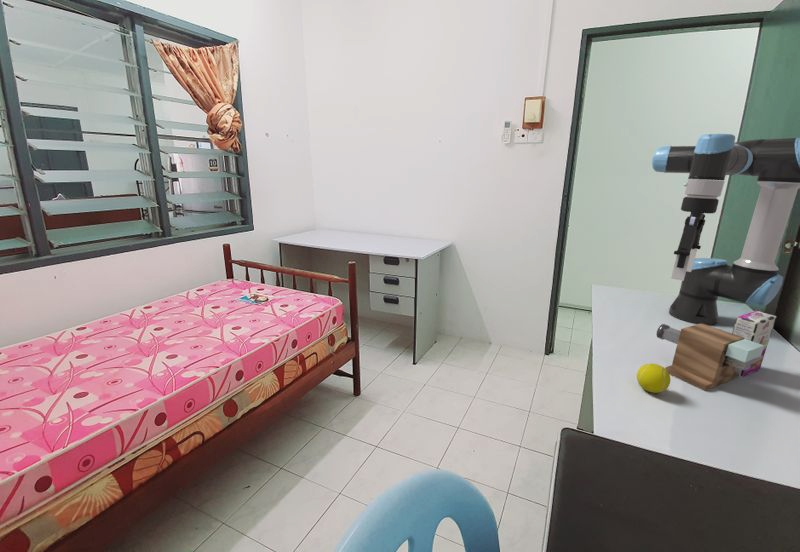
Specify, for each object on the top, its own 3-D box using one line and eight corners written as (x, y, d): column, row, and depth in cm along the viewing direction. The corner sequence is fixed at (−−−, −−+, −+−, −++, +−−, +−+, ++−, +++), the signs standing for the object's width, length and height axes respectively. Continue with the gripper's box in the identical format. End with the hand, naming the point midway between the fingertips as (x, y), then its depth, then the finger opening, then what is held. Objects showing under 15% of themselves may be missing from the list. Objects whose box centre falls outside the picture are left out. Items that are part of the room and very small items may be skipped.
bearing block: (696, 361, 114) (707, 321, 110) (736, 377, 105) (750, 335, 102) (664, 372, 106) (674, 330, 103) (704, 390, 98) (718, 346, 94)
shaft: (663, 336, 116) (667, 322, 114) (750, 369, 97) (755, 354, 96) (655, 338, 114) (658, 325, 112) (741, 373, 95) (746, 357, 94)
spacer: (741, 349, 100) (744, 338, 99) (760, 356, 97) (764, 345, 96) (725, 355, 97) (728, 344, 96) (744, 362, 93) (748, 351, 92)
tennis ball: (631, 390, 97) (637, 365, 95) (637, 379, 102) (642, 355, 100) (664, 401, 93) (671, 376, 91) (668, 389, 98) (674, 365, 96)
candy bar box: (739, 361, 114) (755, 310, 110) (760, 369, 110) (778, 316, 105) (720, 369, 109) (736, 315, 105) (741, 378, 105) (759, 322, 100)
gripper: (690, 194, 112) (673, 265, 118) (676, 197, 94) (656, 280, 100) (723, 196, 107) (703, 270, 113) (714, 199, 89) (691, 286, 95)
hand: (681, 275), depth 106 cm, fingers open, 13 cm apart
